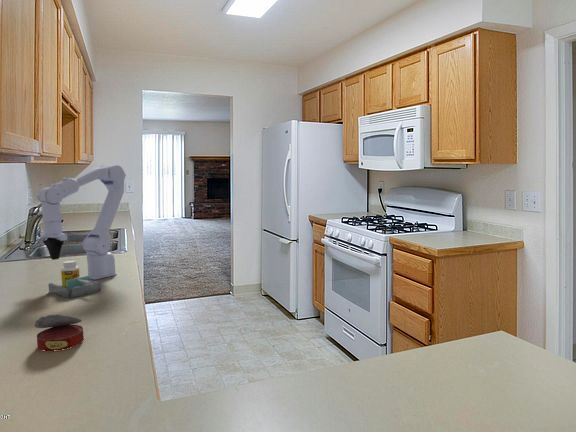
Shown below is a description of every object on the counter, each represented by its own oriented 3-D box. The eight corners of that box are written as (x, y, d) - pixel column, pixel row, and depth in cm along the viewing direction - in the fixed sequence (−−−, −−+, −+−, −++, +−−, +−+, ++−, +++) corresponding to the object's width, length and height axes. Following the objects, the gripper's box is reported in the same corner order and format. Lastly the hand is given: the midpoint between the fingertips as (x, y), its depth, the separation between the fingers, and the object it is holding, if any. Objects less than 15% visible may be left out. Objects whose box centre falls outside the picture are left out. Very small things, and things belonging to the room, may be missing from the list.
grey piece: (79, 285, 160) (78, 277, 159) (100, 290, 152) (99, 282, 152) (49, 292, 151) (48, 283, 151) (69, 298, 143) (69, 289, 143)
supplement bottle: (63, 293, 149) (61, 264, 148) (61, 290, 153) (59, 261, 152) (81, 291, 152) (79, 261, 151) (79, 287, 156) (77, 259, 155)
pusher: (89, 288, 153) (88, 275, 153) (103, 292, 148) (102, 278, 148) (66, 294, 147) (65, 280, 146) (81, 298, 142) (80, 283, 141)
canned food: (38, 368, 103) (16, 331, 103) (72, 347, 112) (53, 313, 112) (66, 353, 98) (44, 314, 98) (100, 332, 107) (80, 297, 107)
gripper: (30, 221, 158) (33, 259, 159) (51, 223, 149) (54, 263, 151) (50, 219, 163) (53, 255, 165) (71, 221, 155) (74, 259, 157)
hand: (55, 259), depth 158 cm, fingers closed
